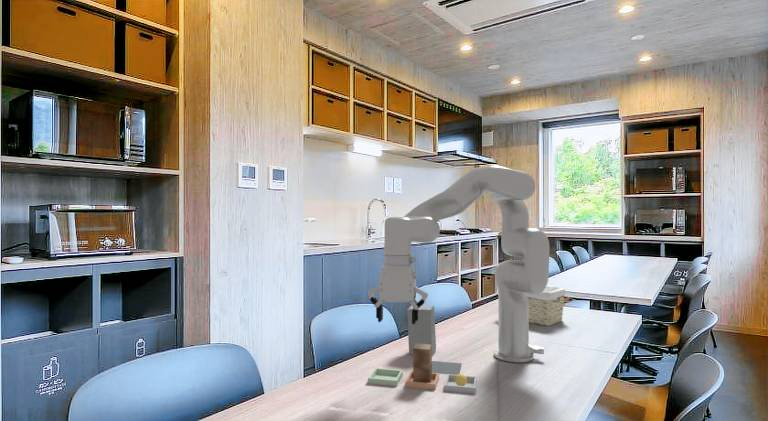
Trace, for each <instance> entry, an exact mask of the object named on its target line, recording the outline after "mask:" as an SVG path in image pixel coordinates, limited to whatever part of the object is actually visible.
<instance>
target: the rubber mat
mask: <svg viewBox="0 0 768 421" xmlns="http://www.w3.org/2000/svg"><path fill="white" fill-rule="evenodd" d="M462 365H463V364H462V363H461V362H450V361H449V362H448V361H437V360H436V361H435V360H432V373H439V374H443V375H447V374H453V375H458V374H461V369H462Z"/></svg>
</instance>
